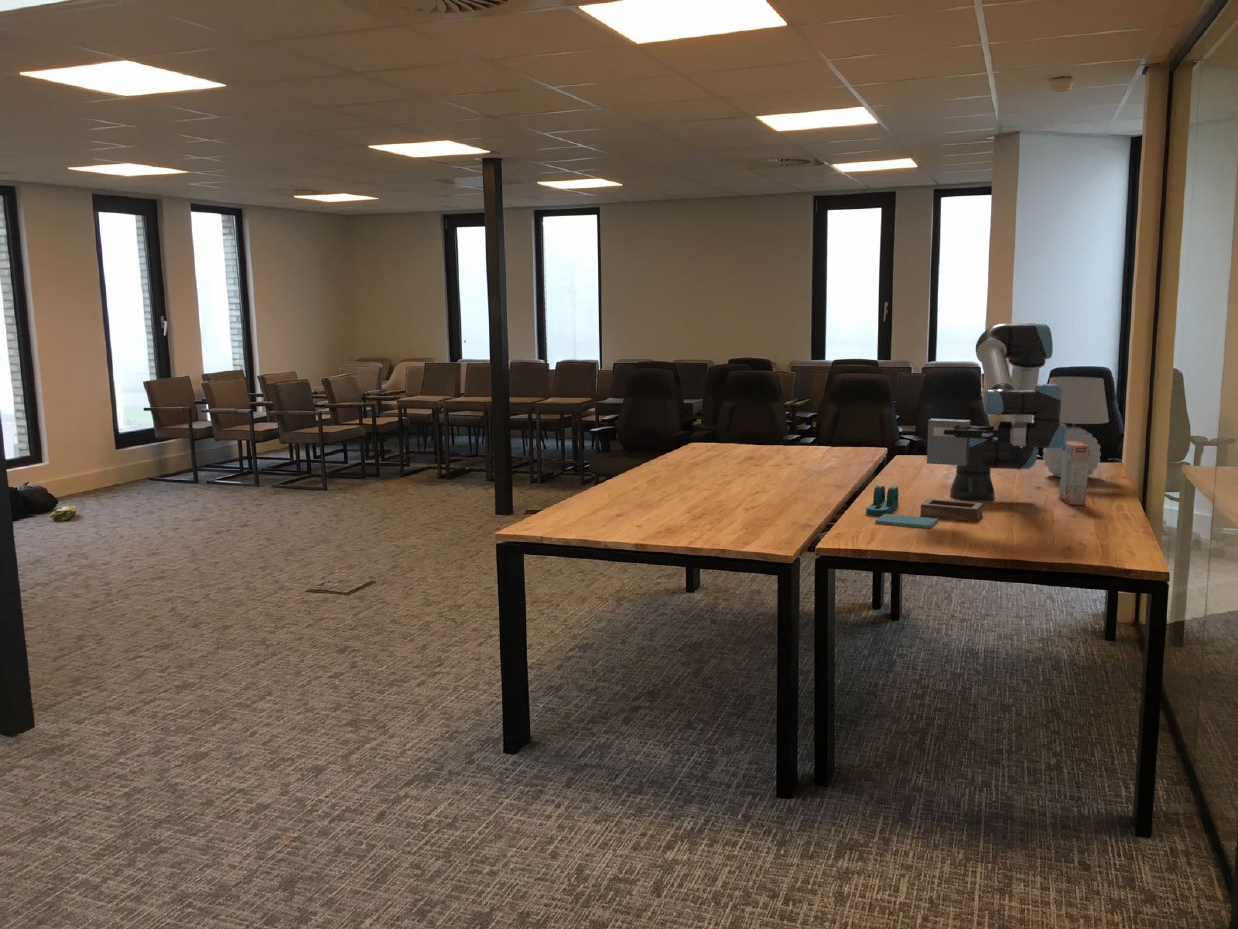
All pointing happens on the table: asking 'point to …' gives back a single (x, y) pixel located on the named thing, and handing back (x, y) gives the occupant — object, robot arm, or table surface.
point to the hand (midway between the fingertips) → (935, 430)
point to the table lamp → (1079, 417)
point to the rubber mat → (907, 520)
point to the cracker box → (1074, 473)
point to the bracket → (883, 501)
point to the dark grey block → (947, 444)
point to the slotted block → (951, 509)
